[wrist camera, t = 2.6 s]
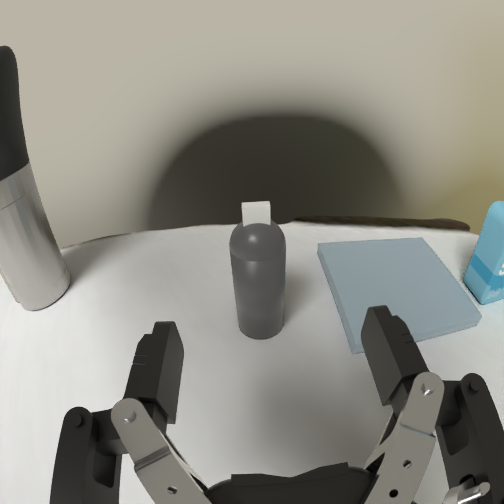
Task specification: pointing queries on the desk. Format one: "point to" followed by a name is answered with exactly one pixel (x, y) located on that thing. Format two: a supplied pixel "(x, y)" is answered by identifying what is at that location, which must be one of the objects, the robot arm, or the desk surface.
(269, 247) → the dark grey bottle
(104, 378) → the desk surface
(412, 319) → the plate
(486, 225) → the data package
